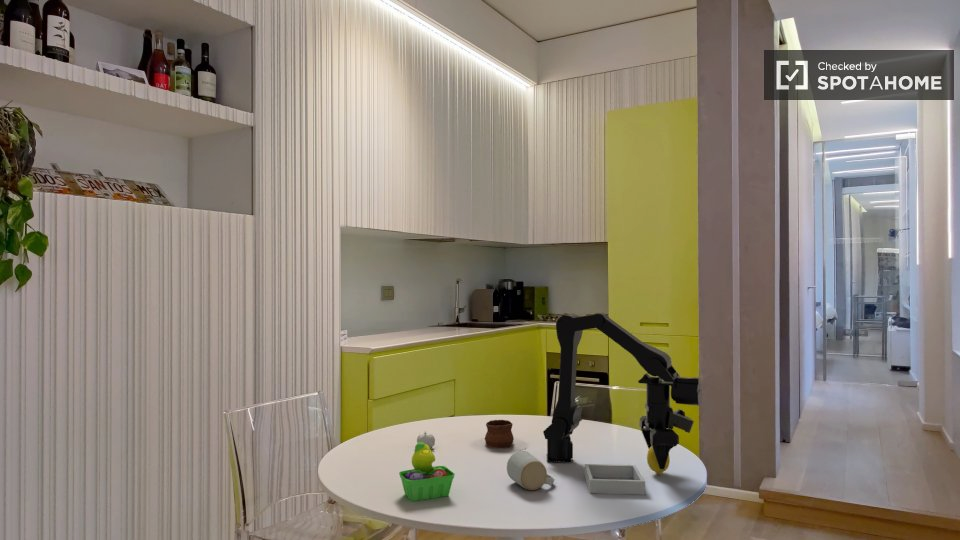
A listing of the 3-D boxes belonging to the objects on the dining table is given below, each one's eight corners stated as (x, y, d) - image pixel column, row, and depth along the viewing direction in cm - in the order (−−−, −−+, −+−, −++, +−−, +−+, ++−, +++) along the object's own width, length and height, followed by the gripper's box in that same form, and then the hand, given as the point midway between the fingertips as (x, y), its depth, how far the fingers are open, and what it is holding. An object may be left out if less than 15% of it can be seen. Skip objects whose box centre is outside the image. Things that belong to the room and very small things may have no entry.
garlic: (429, 452, 178) (429, 433, 178) (412, 450, 180) (412, 432, 180) (438, 447, 184) (438, 429, 184) (422, 445, 186) (422, 427, 186)
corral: (589, 493, 144) (589, 480, 145) (584, 475, 157) (584, 463, 157) (645, 494, 144) (645, 481, 144) (635, 477, 156) (635, 465, 156)
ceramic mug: (521, 494, 144) (522, 460, 144) (505, 483, 151) (506, 451, 151) (561, 488, 148) (561, 456, 148) (544, 478, 156) (544, 447, 156)
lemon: (670, 478, 155) (670, 446, 155) (647, 477, 156) (647, 445, 156) (668, 471, 161) (668, 440, 161) (646, 470, 162) (646, 439, 162)
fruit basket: (407, 504, 137) (407, 452, 137) (396, 491, 145) (396, 442, 145) (455, 497, 142) (456, 447, 142) (442, 485, 150) (442, 438, 150)
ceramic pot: (541, 446, 184) (541, 422, 185) (494, 457, 174) (493, 432, 174) (503, 435, 199) (503, 413, 199) (457, 445, 188) (457, 421, 189)
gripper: (700, 410, 149) (700, 475, 149) (681, 395, 167) (681, 453, 167) (653, 409, 150) (653, 474, 149) (639, 394, 168) (638, 452, 168)
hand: (658, 463), depth 159 cm, fingers open, 9 cm apart
